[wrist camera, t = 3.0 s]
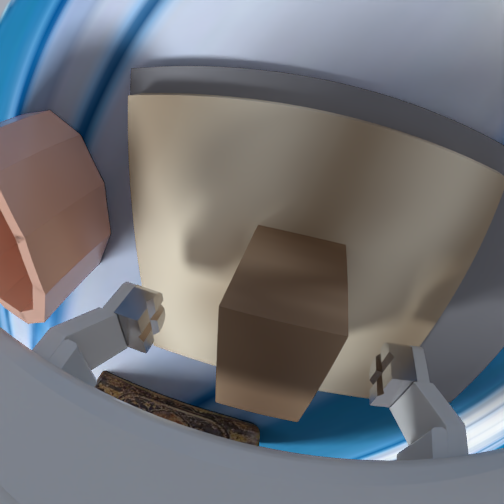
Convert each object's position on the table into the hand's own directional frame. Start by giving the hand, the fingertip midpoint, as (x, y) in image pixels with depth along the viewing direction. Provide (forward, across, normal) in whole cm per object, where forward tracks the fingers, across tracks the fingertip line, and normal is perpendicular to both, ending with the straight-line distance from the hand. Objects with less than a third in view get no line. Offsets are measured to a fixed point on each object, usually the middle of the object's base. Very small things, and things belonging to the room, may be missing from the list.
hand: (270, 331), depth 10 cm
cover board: (+2, 0, 0) cm, 3 cm away
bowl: (+3, +14, -2) cm, 14 cm away
